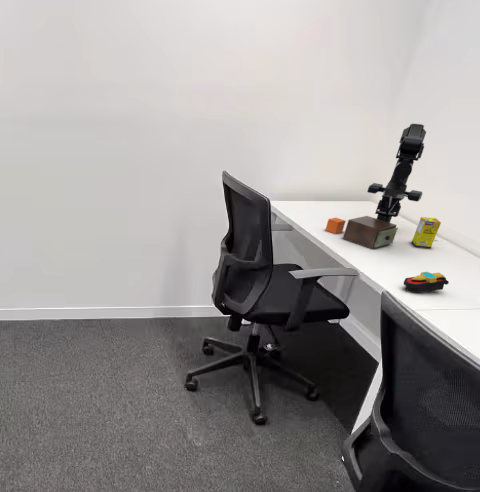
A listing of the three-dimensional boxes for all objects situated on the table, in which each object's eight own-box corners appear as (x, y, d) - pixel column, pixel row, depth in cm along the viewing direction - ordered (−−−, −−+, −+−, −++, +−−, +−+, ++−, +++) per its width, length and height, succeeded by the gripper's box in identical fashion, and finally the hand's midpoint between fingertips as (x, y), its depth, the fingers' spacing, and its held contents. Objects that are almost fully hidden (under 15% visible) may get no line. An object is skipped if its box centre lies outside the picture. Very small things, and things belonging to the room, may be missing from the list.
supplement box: (430, 248, 223) (441, 222, 217) (415, 247, 224) (425, 220, 218) (426, 244, 228) (436, 218, 222) (410, 242, 229) (420, 216, 223)
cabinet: (389, 244, 226) (396, 224, 221) (371, 248, 220) (378, 229, 215) (360, 234, 235) (366, 215, 231) (342, 238, 229) (348, 219, 225)
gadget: (397, 289, 189) (400, 274, 186) (434, 283, 189) (438, 268, 186) (408, 296, 184) (411, 281, 181) (446, 291, 184) (451, 276, 181)
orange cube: (332, 228, 240) (335, 217, 237) (342, 232, 237) (345, 220, 234) (325, 230, 238) (328, 219, 235) (335, 233, 235) (338, 222, 232)
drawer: (395, 244, 223) (400, 229, 220) (378, 248, 218) (384, 233, 215) (365, 234, 233) (370, 219, 229) (348, 238, 227) (353, 223, 224)
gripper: (370, 172, 210) (357, 213, 219) (423, 181, 201) (407, 223, 209) (377, 168, 217) (365, 207, 226) (429, 176, 208) (413, 217, 217)
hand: (386, 213), depth 219 cm, fingers closed
